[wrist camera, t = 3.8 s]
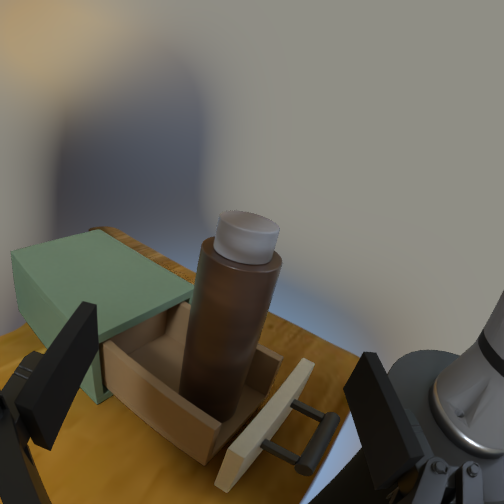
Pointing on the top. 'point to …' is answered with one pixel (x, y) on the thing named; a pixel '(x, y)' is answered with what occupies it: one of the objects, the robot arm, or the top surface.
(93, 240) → the cabinet
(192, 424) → the drawer
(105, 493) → the top surface
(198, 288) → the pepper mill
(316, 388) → the top surface
